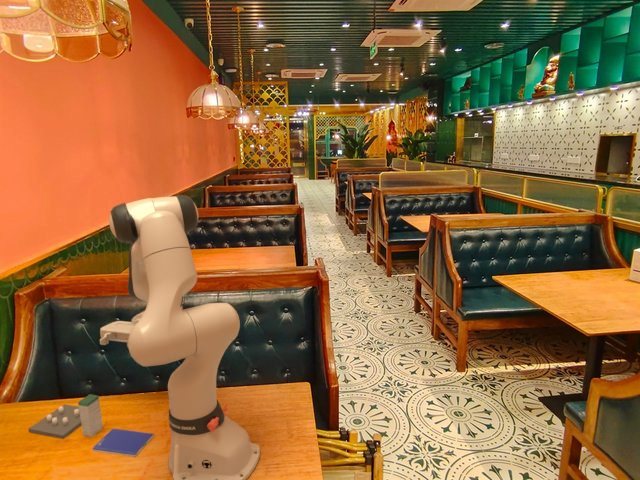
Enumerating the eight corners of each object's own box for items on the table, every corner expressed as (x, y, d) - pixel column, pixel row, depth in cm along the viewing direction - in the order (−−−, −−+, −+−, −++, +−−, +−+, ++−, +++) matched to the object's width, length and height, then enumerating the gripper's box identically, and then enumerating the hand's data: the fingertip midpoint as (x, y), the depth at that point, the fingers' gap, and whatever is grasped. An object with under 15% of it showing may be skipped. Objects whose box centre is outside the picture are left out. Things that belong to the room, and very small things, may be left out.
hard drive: (92, 447, 110) (134, 453, 107) (113, 427, 118) (153, 432, 115) (92, 453, 110) (135, 459, 108) (114, 432, 118) (154, 437, 115)
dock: (97, 412, 126) (96, 403, 126) (63, 438, 115) (62, 428, 114) (64, 407, 130) (63, 398, 129) (28, 431, 118) (27, 422, 118)
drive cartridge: (103, 427, 119) (98, 395, 117) (92, 437, 116) (87, 403, 114) (94, 426, 120) (89, 394, 118) (83, 435, 116) (78, 402, 114)
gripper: (117, 313, 140) (84, 330, 127) (172, 319, 135) (143, 337, 122) (119, 331, 141) (87, 350, 128) (173, 337, 136) (145, 358, 123)
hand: (115, 344), depth 125 cm, fingers open, 8 cm apart
